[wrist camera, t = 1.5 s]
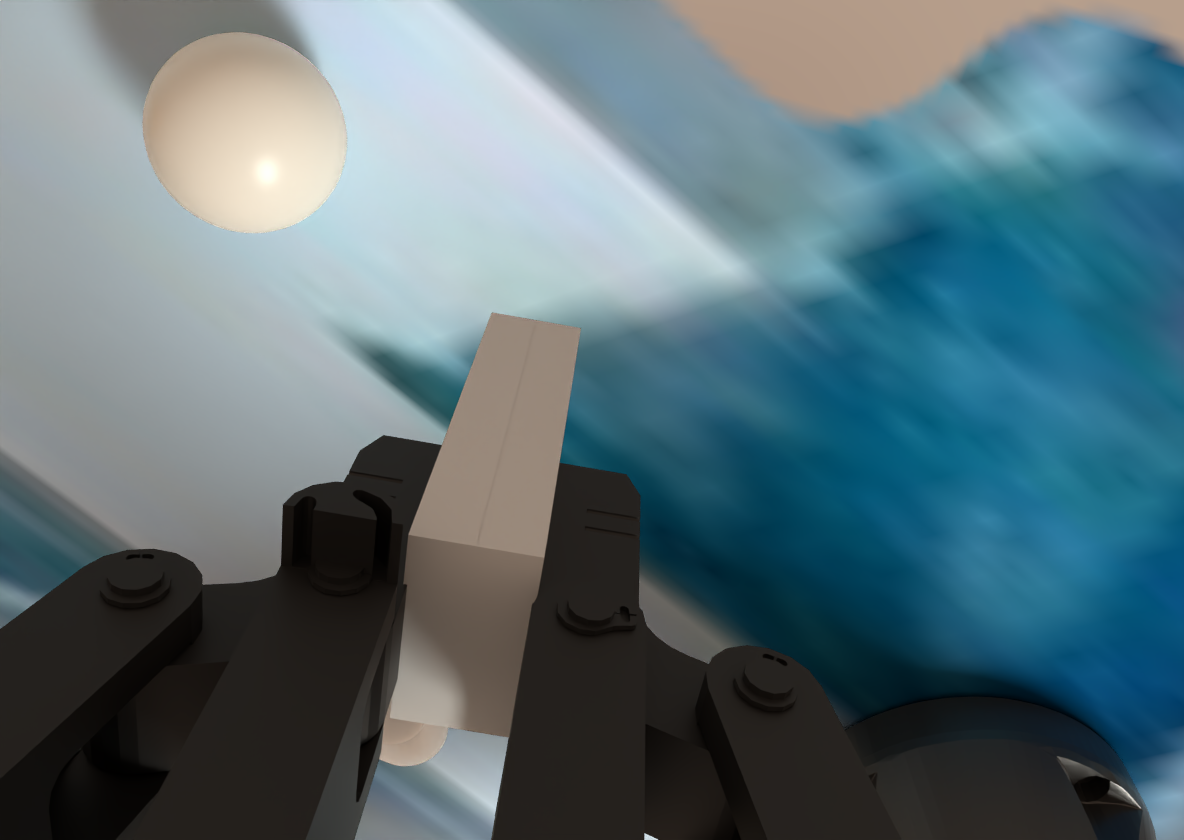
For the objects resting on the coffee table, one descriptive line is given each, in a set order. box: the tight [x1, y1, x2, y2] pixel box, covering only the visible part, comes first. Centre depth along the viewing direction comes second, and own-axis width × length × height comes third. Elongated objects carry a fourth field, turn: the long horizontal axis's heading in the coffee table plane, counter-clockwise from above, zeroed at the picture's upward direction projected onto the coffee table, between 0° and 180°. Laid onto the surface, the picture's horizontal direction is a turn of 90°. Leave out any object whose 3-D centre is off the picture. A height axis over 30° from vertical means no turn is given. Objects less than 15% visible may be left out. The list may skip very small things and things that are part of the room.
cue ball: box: [142, 32, 347, 233], centre depth 29 cm, size 6×6×6 cm
